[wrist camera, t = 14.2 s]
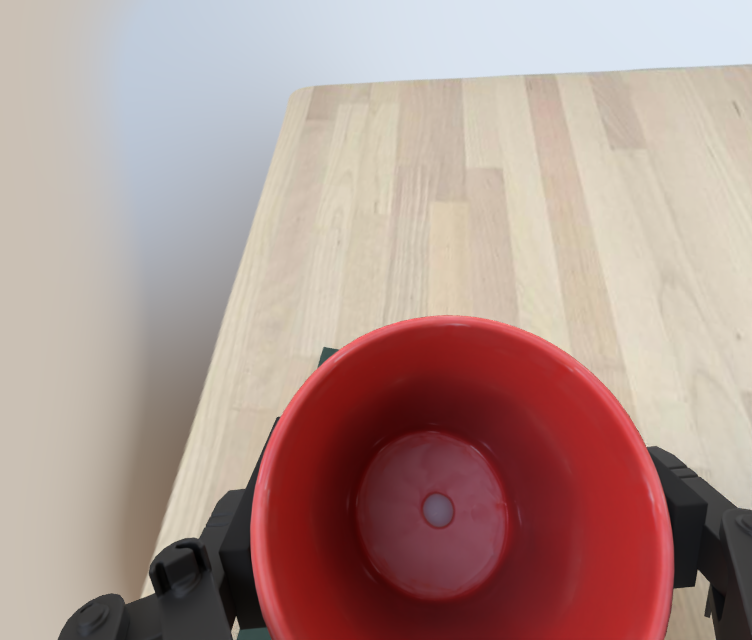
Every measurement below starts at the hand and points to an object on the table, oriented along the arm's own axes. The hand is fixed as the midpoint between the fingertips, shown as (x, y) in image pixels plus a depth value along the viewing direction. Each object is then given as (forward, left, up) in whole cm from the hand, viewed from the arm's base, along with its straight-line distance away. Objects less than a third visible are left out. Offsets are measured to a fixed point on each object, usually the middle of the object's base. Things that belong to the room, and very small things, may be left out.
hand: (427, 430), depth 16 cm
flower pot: (+1, -3, -4) cm, 5 cm away
